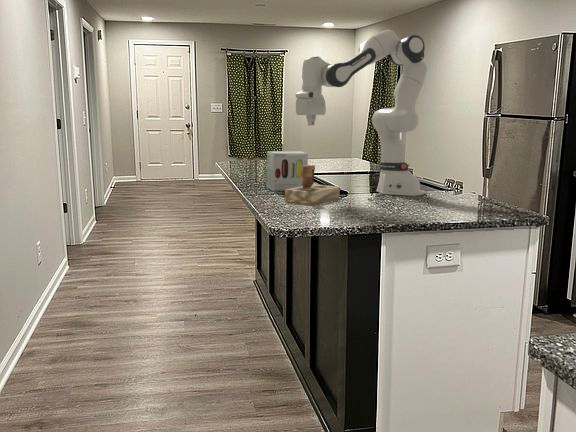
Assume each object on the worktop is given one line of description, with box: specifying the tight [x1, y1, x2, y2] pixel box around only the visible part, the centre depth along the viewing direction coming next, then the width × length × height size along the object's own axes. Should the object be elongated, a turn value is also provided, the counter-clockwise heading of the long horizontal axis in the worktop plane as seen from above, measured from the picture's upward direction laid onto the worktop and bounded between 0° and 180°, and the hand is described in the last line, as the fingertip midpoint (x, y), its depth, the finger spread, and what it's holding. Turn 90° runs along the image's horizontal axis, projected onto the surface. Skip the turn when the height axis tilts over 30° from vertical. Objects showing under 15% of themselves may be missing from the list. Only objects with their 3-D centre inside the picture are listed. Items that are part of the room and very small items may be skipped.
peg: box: [302, 164, 312, 190], centre depth 248 cm, size 4×4×14 cm
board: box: [284, 183, 341, 205], centre depth 253 cm, size 14×22×5 cm, turn 146°
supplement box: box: [266, 150, 309, 192], centre depth 283 cm, size 17×13×18 cm
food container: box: [310, 164, 316, 184], centre depth 304 cm, size 12×6×10 cm, turn 25°
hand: (311, 125), depth 264 cm, fingers closed
